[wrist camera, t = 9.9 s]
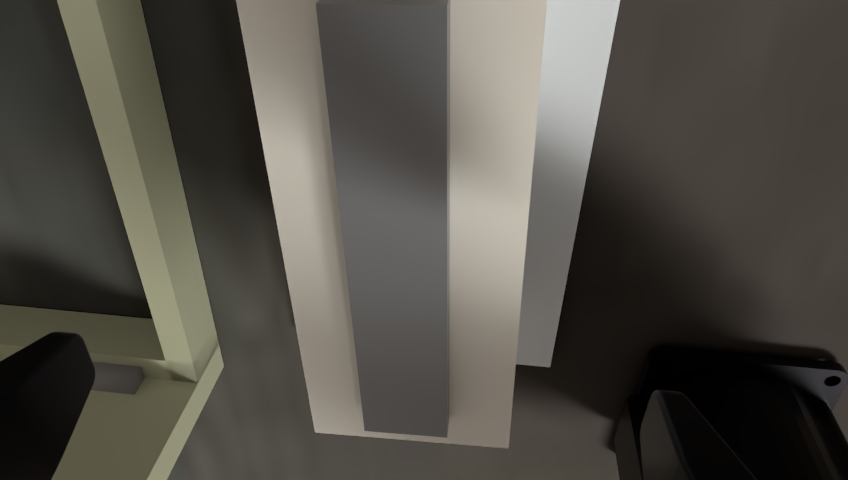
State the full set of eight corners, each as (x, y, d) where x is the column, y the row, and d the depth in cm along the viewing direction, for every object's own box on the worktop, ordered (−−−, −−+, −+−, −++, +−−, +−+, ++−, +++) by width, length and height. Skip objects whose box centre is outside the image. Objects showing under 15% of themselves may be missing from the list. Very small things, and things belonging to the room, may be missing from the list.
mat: (670, -288, 13) (675, -291, 12) (549, 357, 23) (550, 367, 23) (230, -294, 13) (221, -297, 13) (305, 333, 24) (301, 343, 23)
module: (540, -123, 14) (556, -69, 9) (509, 295, 21) (508, 468, 16) (319, -121, 15) (206, -68, 9) (360, 286, 22) (309, 452, 16)
